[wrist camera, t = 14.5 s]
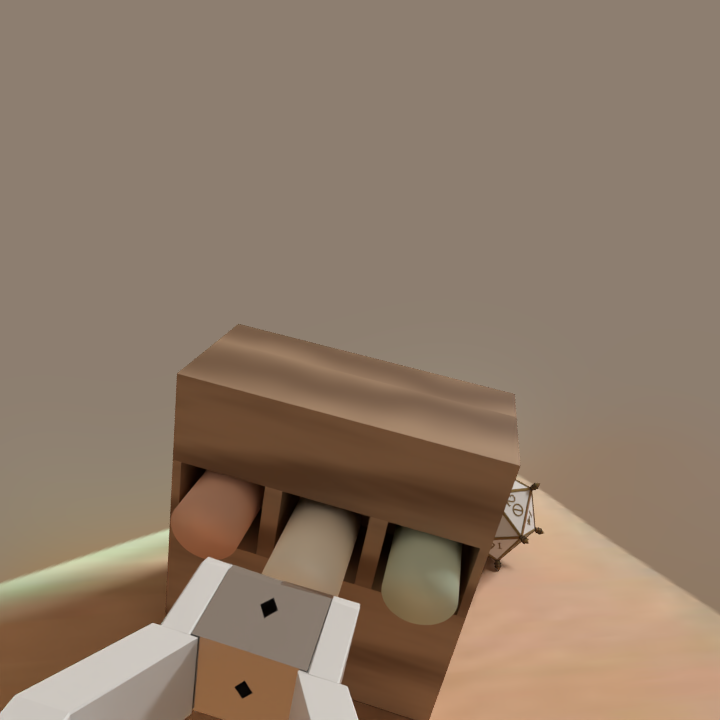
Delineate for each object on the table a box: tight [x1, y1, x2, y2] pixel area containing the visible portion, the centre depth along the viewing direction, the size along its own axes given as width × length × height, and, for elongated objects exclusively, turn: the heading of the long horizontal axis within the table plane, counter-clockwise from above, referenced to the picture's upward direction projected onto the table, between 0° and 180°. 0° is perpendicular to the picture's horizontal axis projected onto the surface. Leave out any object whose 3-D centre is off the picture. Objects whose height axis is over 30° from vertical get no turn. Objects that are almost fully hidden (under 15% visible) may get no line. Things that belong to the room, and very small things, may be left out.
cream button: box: [262, 497, 361, 598], centre depth 31 cm, size 6×4×4 cm, turn 168°
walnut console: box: [165, 324, 520, 720], centre depth 37 cm, size 8×18×20 cm, turn 78°
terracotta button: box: [171, 470, 265, 560], centre depth 34 cm, size 6×4×4 cm, turn 168°
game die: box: [488, 479, 544, 571], centre depth 50 cm, size 9×8×10 cm
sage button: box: [381, 524, 462, 625], centre depth 32 cm, size 6×4×4 cm, turn 168°
